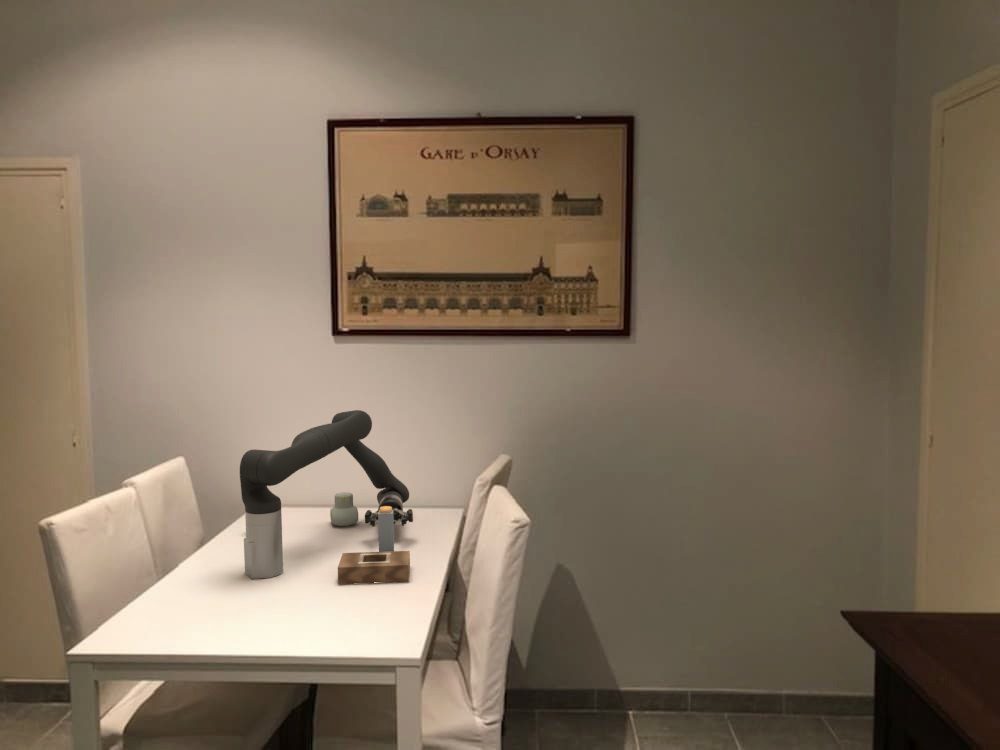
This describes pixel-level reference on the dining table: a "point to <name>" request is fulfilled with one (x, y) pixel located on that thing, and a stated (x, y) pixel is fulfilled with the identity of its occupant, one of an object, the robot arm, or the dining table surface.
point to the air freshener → (344, 510)
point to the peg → (386, 529)
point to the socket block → (374, 567)
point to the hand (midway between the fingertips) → (387, 522)
